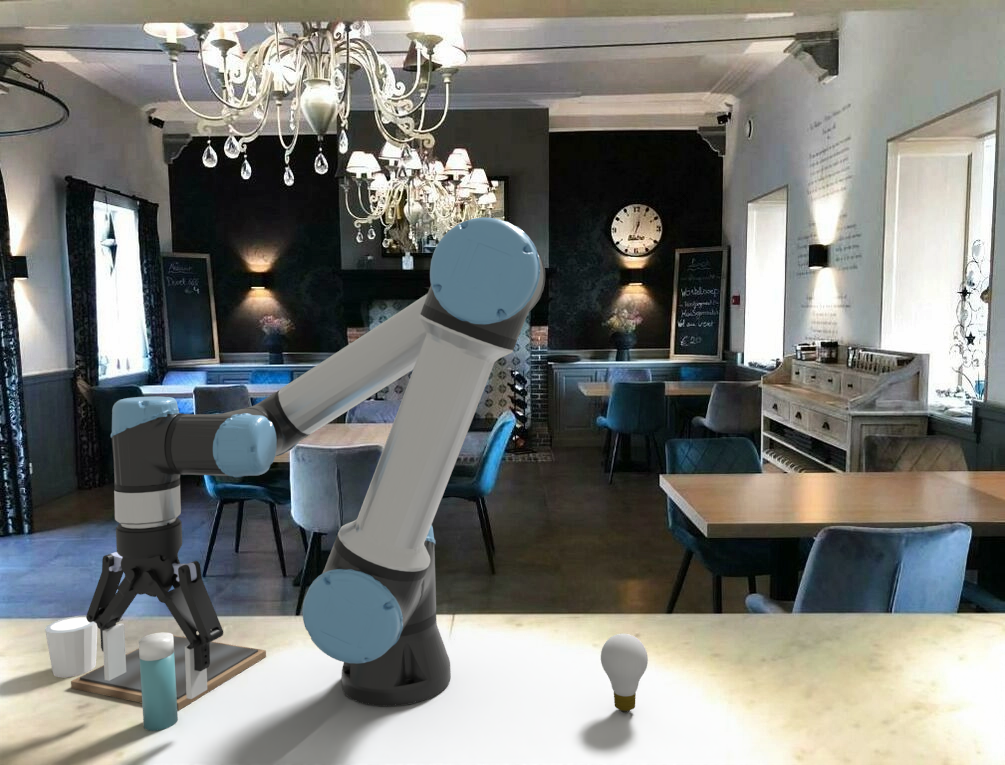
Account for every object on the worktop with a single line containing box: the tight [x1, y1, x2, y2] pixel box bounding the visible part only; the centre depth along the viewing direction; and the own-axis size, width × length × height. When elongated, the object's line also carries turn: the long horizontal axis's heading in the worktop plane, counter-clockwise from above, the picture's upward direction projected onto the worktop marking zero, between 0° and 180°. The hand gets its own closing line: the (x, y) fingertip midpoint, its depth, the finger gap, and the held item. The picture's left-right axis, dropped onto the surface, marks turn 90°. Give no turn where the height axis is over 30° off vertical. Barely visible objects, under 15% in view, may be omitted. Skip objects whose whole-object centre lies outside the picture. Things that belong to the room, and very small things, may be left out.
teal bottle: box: [138, 632, 179, 732], centre depth 98 cm, size 4×4×11 cm
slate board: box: [70, 634, 267, 711], centre depth 113 cm, size 20×18×1 cm
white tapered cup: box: [44, 615, 98, 678], centre depth 115 cm, size 7×7×7 cm
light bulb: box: [600, 633, 649, 714], centre depth 98 cm, size 6×6×10 cm
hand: (155, 685), depth 98 cm, fingers open, 13 cm apart
